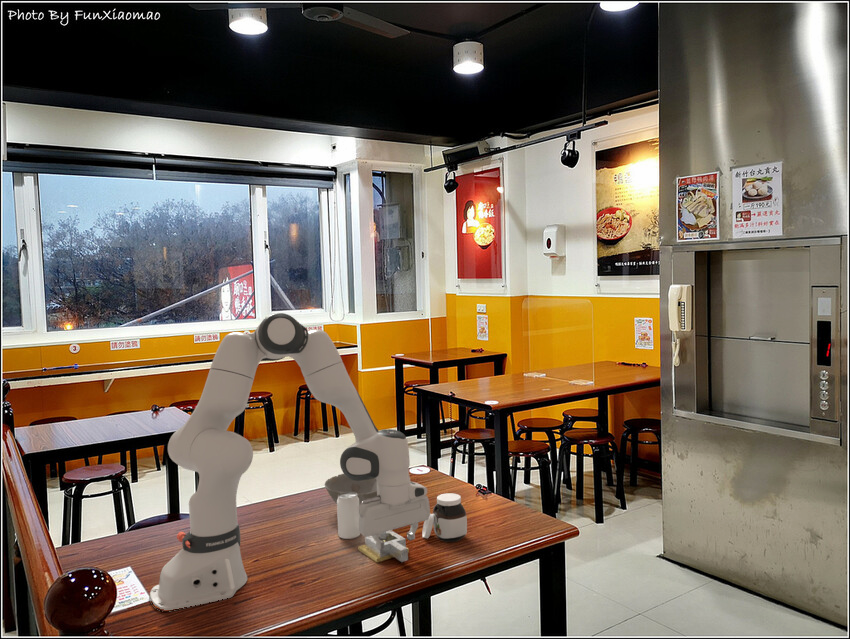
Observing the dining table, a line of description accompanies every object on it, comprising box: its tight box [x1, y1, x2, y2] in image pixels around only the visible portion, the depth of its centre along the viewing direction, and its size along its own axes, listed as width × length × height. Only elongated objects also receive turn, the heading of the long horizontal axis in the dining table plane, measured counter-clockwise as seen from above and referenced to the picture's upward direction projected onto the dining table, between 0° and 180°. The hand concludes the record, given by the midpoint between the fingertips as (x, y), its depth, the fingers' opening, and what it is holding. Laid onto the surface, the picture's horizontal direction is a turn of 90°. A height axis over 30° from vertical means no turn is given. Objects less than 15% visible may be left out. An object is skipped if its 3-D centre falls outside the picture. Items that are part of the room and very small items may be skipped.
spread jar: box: [421, 492, 468, 543], centre depth 179 cm, size 12×11×12 cm
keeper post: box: [358, 532, 410, 563], centre depth 172 cm, size 10×10×6 cm
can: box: [336, 492, 361, 540], centre depth 184 cm, size 6×6×12 cm
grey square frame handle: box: [364, 530, 409, 563], centre depth 169 cm, size 14×8×3 cm, turn 34°
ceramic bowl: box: [324, 473, 377, 505], centre depth 203 cm, size 22×23×10 cm
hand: (395, 543), depth 166 cm, fingers open, 8 cm apart
